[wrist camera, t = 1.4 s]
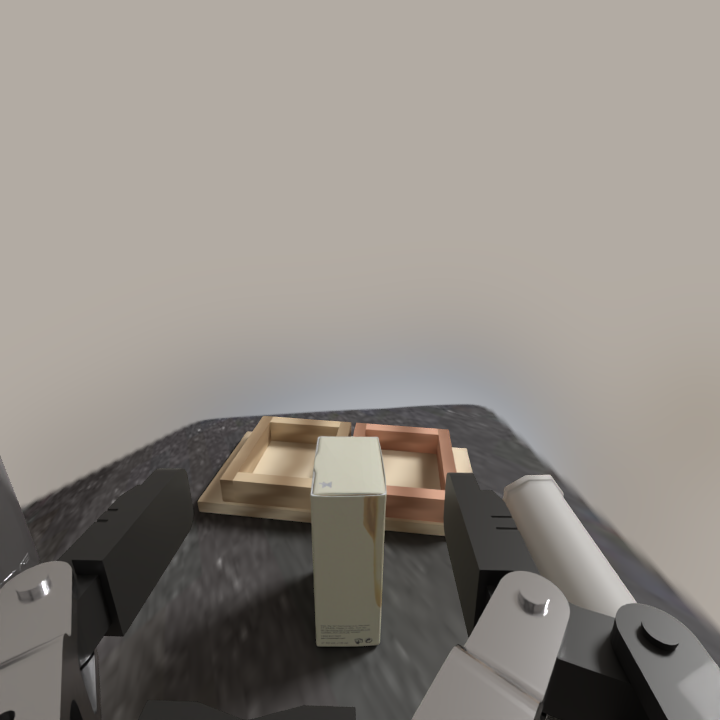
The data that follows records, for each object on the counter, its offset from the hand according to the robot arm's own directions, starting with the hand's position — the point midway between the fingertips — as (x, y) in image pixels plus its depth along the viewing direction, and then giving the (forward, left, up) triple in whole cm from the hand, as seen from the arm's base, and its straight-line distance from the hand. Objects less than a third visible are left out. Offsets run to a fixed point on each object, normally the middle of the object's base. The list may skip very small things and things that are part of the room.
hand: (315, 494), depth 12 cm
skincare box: (0, +10, -19) cm, 21 cm away
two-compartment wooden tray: (-2, +23, -18) cm, 30 cm away
